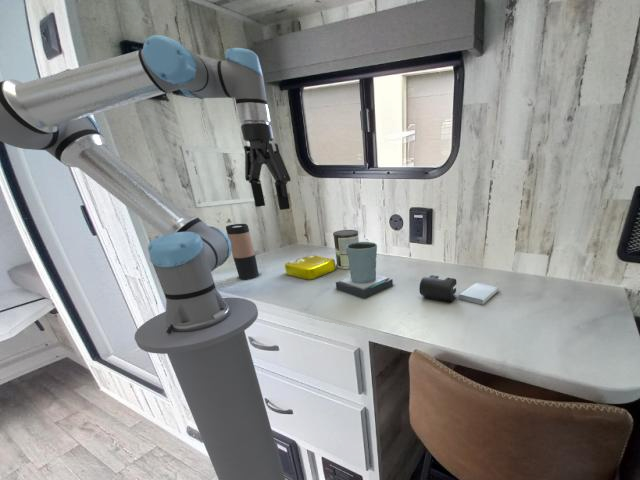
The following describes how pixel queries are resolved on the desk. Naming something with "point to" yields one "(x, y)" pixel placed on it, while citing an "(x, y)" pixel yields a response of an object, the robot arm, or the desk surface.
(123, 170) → the robot arm
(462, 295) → the hard drive
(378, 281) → the scale
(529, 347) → the desk surface
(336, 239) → the coffee can
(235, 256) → the travel mug
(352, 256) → the grey-blue cup
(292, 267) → the element tile
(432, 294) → the end cap
